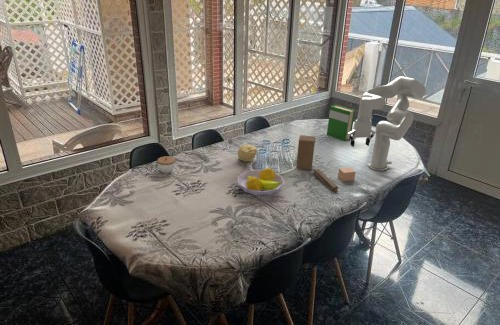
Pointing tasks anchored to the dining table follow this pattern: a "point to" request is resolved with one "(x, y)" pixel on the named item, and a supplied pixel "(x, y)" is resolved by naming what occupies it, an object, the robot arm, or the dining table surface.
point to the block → (346, 174)
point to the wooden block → (305, 152)
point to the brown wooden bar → (326, 180)
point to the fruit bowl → (260, 182)
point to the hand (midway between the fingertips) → (359, 145)
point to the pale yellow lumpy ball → (247, 153)
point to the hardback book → (340, 122)
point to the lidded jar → (166, 164)
